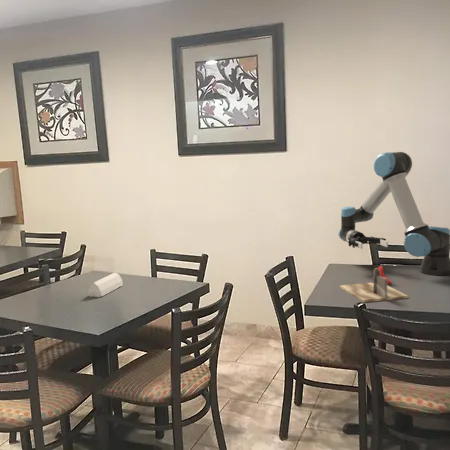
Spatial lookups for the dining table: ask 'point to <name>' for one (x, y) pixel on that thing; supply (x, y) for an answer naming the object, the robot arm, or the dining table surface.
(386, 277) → the bracket
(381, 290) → the hinge mount
